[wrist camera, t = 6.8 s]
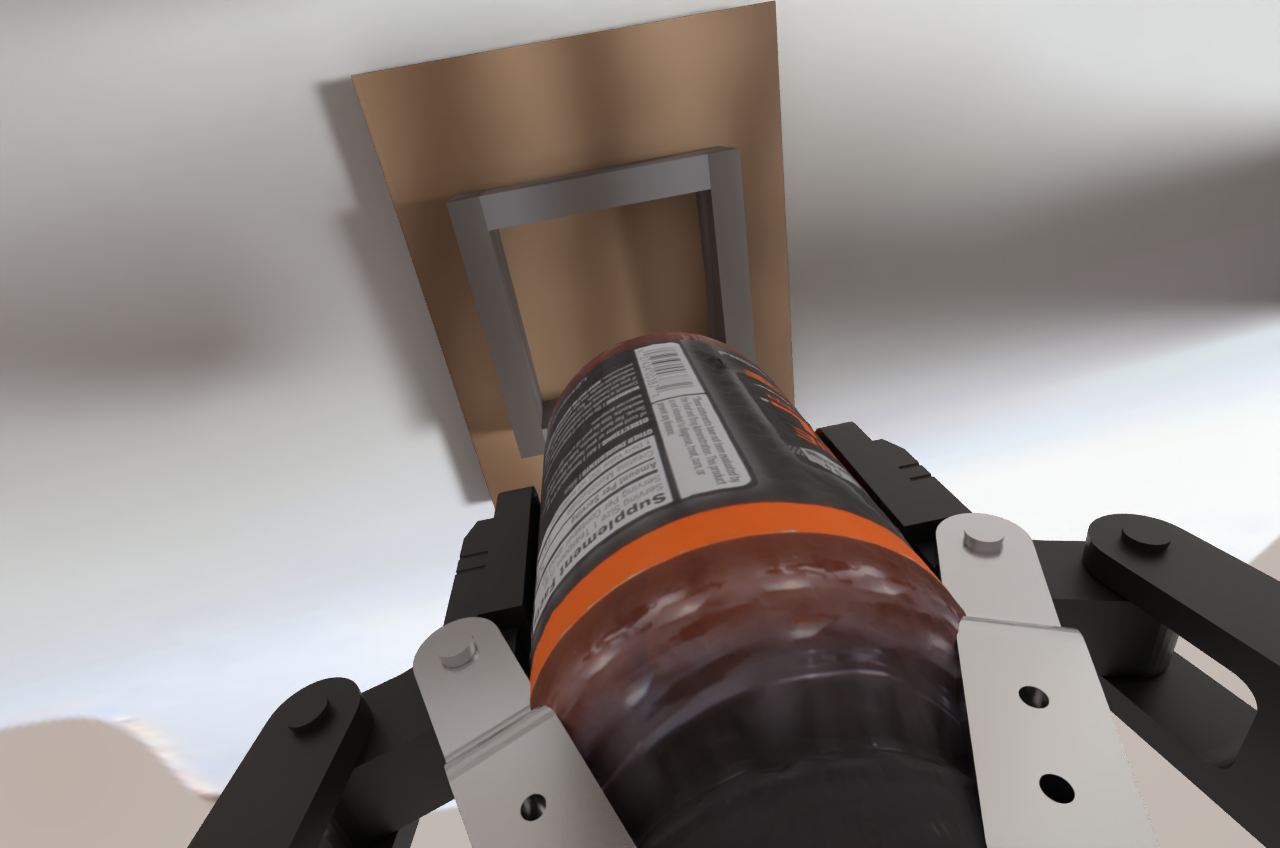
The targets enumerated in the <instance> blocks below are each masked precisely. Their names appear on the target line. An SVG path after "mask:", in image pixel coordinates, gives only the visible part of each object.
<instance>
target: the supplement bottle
mask: <svg viewBox="0 0 1280 848" xmlns="http://www.w3.org/2000/svg"><path fill="white" fill-rule="evenodd" d="M963 616H966V614H965V612H964V610H963V609H962V608H961V607H960V605H959V604H958V603H957V602H956V600H955V599H954V598H953V596H952V595H951V594H950V592H949V591H948V590H947V588H946V587H945V586H944V585H943V584H942V583H941V581H940V580H939V579H938V578H937V577H936V575H935V574H934V573H933V572H932V571H931V570H930V568H929V567H928V566H927V565H926V564H925V563H924V561H923V560H922V559H921V558H920V557H919V556H918V555H917V554H916V553H915V552H914V550H913V548H912V547H911V546H910V545H909V543H908V542H907V541H906V540H905V538H904V537H903V535H902V533H901V532H900V531H899V529H898V528H897V527H895V526H894V525H893V524H892V522H891V521H890V520H889V518H888V517H887V516H886V515H885V514H884V512H883V511H882V510H881V509H880V508H878V506H877V505H876V504H875V502H874V501H873V500H872V499H871V498H870V496H869V495H868V493H867V492H866V491H865V490H864V489H863V488H862V486H861V485H860V484H859V483H858V482H857V481H856V480H855V479H854V478H853V477H852V476H851V474H850V473H849V472H848V471H847V470H846V468H845V467H844V466H843V465H842V464H841V463H840V461H839V460H838V459H837V458H836V457H835V456H834V455H833V453H832V452H831V451H830V449H829V448H828V447H827V446H826V445H825V444H824V443H823V442H822V440H821V439H820V438H819V437H818V435H817V434H816V433H815V432H814V431H813V429H812V428H811V426H810V424H809V423H808V422H806V421H805V419H804V418H803V417H802V416H801V415H800V414H799V412H798V411H797V409H796V408H795V407H794V406H793V405H792V404H791V402H790V401H789V400H788V399H787V397H786V396H785V395H784V394H783V393H782V391H781V390H780V389H779V388H778V387H777V386H776V385H775V383H774V381H773V380H772V379H771V378H770V377H769V376H768V375H767V374H766V373H764V372H763V371H762V370H761V369H760V368H759V367H758V366H757V365H756V364H754V363H753V362H752V361H751V360H750V359H749V358H747V357H746V356H745V355H743V354H742V353H740V352H739V351H737V350H736V349H734V348H732V347H730V346H729V345H727V344H725V343H722V342H720V341H717V340H714V339H711V338H708V337H706V336H704V335H700V334H693V333H685V332H667V333H658V334H649V335H644V336H639V337H636V338H633V339H630V340H626V341H624V342H621V343H619V344H616V345H615V346H613V347H611V348H609V349H607V350H605V351H604V352H602V353H601V354H599V355H598V356H596V357H595V358H594V359H592V360H591V361H590V362H589V363H588V364H586V365H585V366H584V367H583V368H582V369H581V370H580V371H579V372H578V373H577V374H576V375H575V376H574V377H573V378H572V379H571V381H570V382H569V383H568V385H567V386H566V388H565V389H564V391H563V393H562V394H561V396H560V397H559V399H558V402H557V404H556V406H555V408H554V411H553V414H552V417H551V419H550V421H549V424H548V429H547V438H546V442H545V451H544V459H543V476H542V489H541V503H540V517H539V534H538V550H537V559H536V578H535V587H534V603H533V617H532V627H531V651H530V661H529V667H530V671H531V673H530V680H529V681H530V683H531V687H530V708H531V710H533V709H534V708H536V707H537V706H539V705H545V706H548V707H549V708H551V709H552V710H553V711H554V712H555V713H556V715H557V717H558V718H559V720H560V722H561V723H562V725H563V726H564V728H565V730H566V731H567V733H568V735H569V736H570V738H571V740H572V741H573V743H574V745H575V746H576V748H577V750H578V751H579V753H580V755H581V756H582V758H583V760H584V761H585V763H586V765H587V766H588V768H589V770H590V771H591V773H592V775H593V776H594V778H595V779H596V781H597V783H598V784H599V786H600V788H601V789H602V791H603V793H604V794H605V796H606V798H607V799H608V801H609V803H610V804H611V806H612V808H613V809H614V811H615V813H616V814H617V816H618V818H619V819H620V821H621V823H622V824H623V826H624V828H625V829H626V831H627V832H628V834H629V836H630V837H632V839H633V841H634V843H635V846H636V847H637V848H985V843H984V837H983V832H982V827H981V823H980V819H979V816H978V812H977V806H976V801H975V796H974V788H973V783H972V780H971V778H969V777H968V776H966V775H964V774H963V773H961V772H959V770H958V769H957V766H956V761H955V760H956V759H957V758H958V756H960V755H963V754H964V749H963V741H962V733H961V726H960V718H959V712H958V707H957V703H956V678H957V634H958V632H959V623H960V621H961V619H962V618H963Z"/></svg>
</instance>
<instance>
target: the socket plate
mask: <svg viewBox="0 0 1280 848" xmlns="http://www.w3.org/2000/svg"><path fill="white" fill-rule="evenodd" d="M351 77H352V80H353V83H354V86H355V89H356V92H357V95H358V98H359V101H360V104H361V107H362V110H363V113H364V116H365V119H366V122H367V125H368V128H369V131H370V134H371V137H372V140H373V143H374V146H375V149H376V152H377V155H378V158H379V161H380V164H381V167H382V170H383V173H384V177H385V180H386V183H387V186H388V189H389V192H390V195H391V198H392V201H393V204H394V207H395V210H396V213H397V216H398V219H399V222H400V225H401V228H402V231H403V234H404V237H405V240H406V243H407V246H408V249H409V252H410V255H411V258H412V261H413V264H414V267H415V270H416V273H417V276H418V279H419V282H420V285H421V288H422V291H423V294H424V297H425V300H426V303H427V306H428V309H429V312H430V315H431V318H432V321H433V324H434V327H435V330H436V333H437V336H438V339H439V342H440V345H441V348H442V351H443V354H444V357H445V360H446V363H447V366H448V369H449V372H450V375H451V378H452V381H453V384H454V387H455V390H456V393H457V396H458V399H459V402H460V405H461V408H462V411H463V414H464V417H465V420H466V423H467V426H468V429H469V432H470V435H471V438H472V441H473V444H474V447H475V450H476V453H477V456H478V459H479V462H480V465H481V468H482V471H483V474H484V477H485V480H486V483H487V486H488V489H489V492H490V495H491V498H492V501H493V504H494V507H495V509H496V503H497V497H498V494H499V493H501V492H506V491H511V490H515V489H520V488H525V487H530V486H534V487H535V488H536V491H537V493H538V496H539V500H540V503H541V489H542V476H543V459H544V451H545V442H546V438H547V429H548V424H549V421H550V419H551V417H552V414H553V411H554V408H555V406H556V404H557V402H558V399H559V397H560V396H561V394H562V393H563V391H564V389H565V388H566V386H567V385H568V383H569V382H570V381H571V379H572V378H573V377H574V376H575V375H576V374H577V373H578V372H579V371H580V370H581V369H582V368H583V367H584V366H585V365H586V364H588V363H589V362H590V361H591V360H592V359H594V358H595V357H596V356H598V355H599V354H601V353H602V352H604V351H605V350H607V349H609V348H611V347H613V346H615V345H616V344H619V343H621V342H624V341H626V340H630V339H633V338H636V337H639V336H644V335H649V334H658V333H667V332H685V333H693V334H700V335H704V336H706V337H708V338H711V339H714V340H717V341H720V342H722V343H725V344H727V345H729V346H730V347H732V348H734V349H736V350H737V351H739V352H740V353H742V354H743V355H745V356H746V357H747V358H749V359H750V360H751V361H752V362H753V363H754V364H756V365H757V366H758V367H759V368H760V369H761V370H762V371H763V372H764V373H766V374H767V375H768V376H769V377H770V378H771V379H772V380H773V381H774V383H775V385H776V386H777V387H778V388H779V389H780V390H781V391H782V393H783V394H784V395H785V396H786V397H787V399H788V400H789V401H790V402H791V404H792V405H793V406H794V407H795V405H794V384H793V363H792V342H791V321H790V300H789V279H788V258H787V237H786V215H785V194H784V173H783V152H782V131H781V110H780V89H779V68H778V47H777V25H776V4H775V1H770V2H764V3H758V4H753V5H747V6H741V7H736V8H730V9H724V10H719V11H713V12H707V13H702V14H696V15H690V16H685V17H679V18H673V19H668V20H662V21H656V22H651V23H645V24H640V25H634V26H628V27H623V28H617V29H611V30H606V31H600V32H594V33H589V34H583V35H577V36H572V37H566V38H560V39H555V40H549V41H543V42H538V43H532V44H526V45H521V46H515V47H510V48H504V49H498V50H493V51H487V52H481V53H476V54H470V55H464V56H459V57H453V58H447V59H442V60H436V61H430V62H425V63H419V64H413V65H408V66H402V67H396V68H391V69H385V70H379V71H374V72H368V73H363V74H357V75H351Z"/></svg>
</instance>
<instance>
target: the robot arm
mask: <svg viewBox="0 0 1280 848" xmlns="http://www.w3.org/2000/svg"><path fill="white" fill-rule="evenodd" d="M815 433H816V434H817V435H818V437H819V438H820V439H821V440H822V442H823V443H824V444H825V445H826V446H827V447H828V448H829V449H830V451H831V452H832V453H833V455H834V456H835V457H836V458H837V459H838V460H839V461H840V463H841V464H842V465H843V466H844V467H845V468H846V470H847V471H848V472H849V473H850V474H851V476H852V477H853V478H854V479H855V480H856V481H857V482H858V483H859V484H860V485H861V486H862V488H863V489H864V490H865V491H866V492H867V493H868V495H869V496H870V498H871V499H872V500H873V501H874V502H875V504H876V505H877V506H878V508H880V509H881V510H882V511H883V512H884V514H885V515H886V516H887V517H888V518H889V520H890V521H891V522H892V524H893V525H894V526H895V527H897V528H898V529H899V531H900V532H901V533H902V535H903V537H904V538H905V540H906V541H907V542H908V543H909V545H910V546H911V547H912V548H913V550H914V552H915V553H916V554H917V555H918V556H919V557H920V558H921V559H922V560H923V561H924V563H925V564H926V565H927V566H928V567H929V568H930V570H931V571H932V572H933V573H934V574H935V575H936V577H937V578H938V579H939V580H940V581H941V583H942V584H943V585H944V586H945V587H946V588H947V590H948V591H949V592H950V594H951V595H952V596H953V598H954V599H955V600H956V602H957V603H958V604H959V605H960V607H961V608H962V609H963V610H964V612H965V614H966V616H963V618H962V619H961V621H960V623H959V632H958V634H957V678H956V703H957V707H958V712H959V718H960V726H961V733H962V741H963V749H964V754H963V755H960V756H958V758H957V759H956V760H955V761H956V766H957V769H958V770H959V772H961V773H963V774H964V775H966V776H968V777H969V778H971V780H972V783H973V788H974V796H975V801H976V806H977V812H978V816H979V819H980V823H981V827H982V832H983V837H984V843H985V848H1160V846H1159V843H1158V840H1157V838H1156V835H1155V832H1154V829H1153V826H1152V824H1151V821H1150V818H1149V816H1148V813H1147V810H1146V807H1145V805H1144V802H1143V799H1142V796H1141V794H1140V791H1139V788H1138V786H1137V783H1136V780H1135V777H1134V774H1133V772H1132V769H1131V766H1130V764H1129V761H1128V758H1127V755H1126V752H1125V750H1124V747H1123V744H1122V742H1121V739H1120V736H1119V734H1118V731H1117V728H1116V725H1115V722H1114V720H1113V717H1112V714H1111V711H1112V712H1113V713H1114V714H1115V715H1116V716H1118V718H1120V719H1121V720H1122V721H1123V722H1124V723H1125V724H1126V725H1127V726H1129V727H1130V728H1131V729H1132V730H1133V731H1134V732H1136V733H1137V734H1138V735H1139V736H1140V737H1141V738H1142V739H1143V740H1145V741H1146V742H1147V743H1148V744H1149V745H1150V746H1151V747H1152V748H1154V749H1155V750H1156V751H1157V752H1158V753H1159V754H1161V755H1162V756H1163V757H1164V758H1165V759H1166V760H1168V762H1170V763H1171V764H1172V765H1173V766H1174V767H1175V768H1176V769H1178V770H1179V771H1180V772H1181V773H1182V774H1183V775H1184V776H1186V777H1187V778H1188V779H1189V780H1190V781H1191V782H1192V783H1193V784H1195V785H1196V786H1197V787H1198V788H1199V789H1200V790H1202V791H1203V792H1204V793H1205V794H1206V795H1207V796H1208V797H1209V798H1210V799H1212V800H1213V801H1214V802H1215V803H1216V804H1217V805H1219V806H1220V807H1221V808H1222V809H1223V810H1224V811H1225V812H1226V813H1228V814H1229V815H1230V816H1231V817H1232V818H1233V819H1234V820H1236V821H1237V822H1238V823H1239V824H1240V825H1241V826H1242V827H1243V828H1245V829H1246V830H1247V831H1248V832H1249V833H1250V834H1251V835H1252V836H1254V837H1255V838H1256V839H1257V840H1258V841H1259V842H1260V843H1262V844H1263V845H1264V846H1265V847H1266V848H1280V581H1277V580H1276V579H1274V578H1272V577H1270V576H1269V575H1266V574H1265V573H1263V572H1261V571H1259V570H1257V569H1255V568H1254V567H1252V566H1250V565H1248V564H1246V563H1244V562H1242V561H1241V560H1239V559H1237V558H1235V557H1233V556H1231V555H1229V554H1228V553H1226V552H1224V551H1222V550H1220V549H1218V548H1216V547H1215V546H1213V545H1211V544H1209V543H1207V542H1205V541H1203V540H1202V539H1200V538H1198V537H1196V536H1194V535H1192V534H1190V533H1189V532H1187V531H1185V530H1183V529H1181V528H1179V527H1177V526H1175V525H1173V524H1170V523H1168V522H1165V521H1162V520H1159V519H1156V518H1152V517H1147V516H1142V515H1135V514H1113V515H1107V516H1103V517H1100V518H1098V519H1096V520H1095V521H1093V522H1092V523H1091V524H1090V526H1089V529H1088V533H1087V538H1086V541H1042V540H1032V539H1031V537H1030V536H1029V535H1028V534H1027V533H1026V532H1025V531H1024V530H1023V529H1022V528H1021V527H1019V526H1018V525H1016V524H1014V523H1012V522H1010V521H1008V520H1006V519H1003V518H1000V517H997V516H993V515H988V514H981V513H972V512H971V511H970V510H969V509H968V508H966V507H965V506H964V505H963V504H962V503H961V502H960V501H959V500H958V499H957V498H956V497H955V496H954V495H953V494H952V493H951V492H949V491H948V490H947V489H946V488H945V487H944V486H943V485H942V484H941V483H940V482H939V481H938V480H937V479H936V478H935V477H931V474H930V473H929V472H928V471H927V470H926V469H925V468H924V467H923V466H922V465H919V462H918V461H917V460H916V459H914V458H913V457H912V456H911V455H910V454H909V453H908V452H907V451H906V450H905V449H903V448H901V447H899V446H897V445H894V444H892V443H890V442H888V441H885V440H883V439H880V440H875V441H872V440H871V439H870V438H869V437H868V436H867V435H866V434H865V433H864V432H863V431H862V430H861V429H860V428H859V427H858V426H857V425H856V424H855V423H853V422H847V423H842V424H837V425H832V426H827V427H822V428H818V429H816V431H815ZM539 517H540V500H539V496H538V493H537V491H536V488H535V487H534V486H530V487H525V488H520V489H515V490H511V491H506V492H501V493H499V494H498V497H497V503H496V509H495V514H494V518H491V519H486V520H481V521H477V523H476V524H475V525H474V527H473V528H472V529H471V530H470V532H469V533H468V534H467V536H466V537H465V538H464V541H463V545H462V549H461V553H460V560H459V562H458V566H457V570H456V572H457V575H455V579H454V583H453V587H452V591H451V595H450V600H449V604H448V608H447V612H446V617H445V621H444V625H443V627H441V628H439V629H438V630H436V631H435V632H434V633H432V634H431V635H430V636H429V637H428V638H427V639H426V640H425V641H424V642H423V644H422V645H421V646H420V648H419V649H418V651H417V653H416V655H415V658H414V662H413V667H412V668H411V669H409V670H408V671H406V672H404V673H403V674H401V675H399V676H397V677H395V678H393V679H390V680H388V681H386V682H384V683H382V684H380V685H378V686H376V687H373V688H371V689H369V690H367V691H365V692H363V693H361V691H360V690H359V688H358V686H357V685H356V683H354V682H353V681H352V680H349V679H347V678H341V677H335V678H328V679H324V680H321V681H317V682H315V683H313V684H310V685H308V686H306V687H305V688H303V689H301V690H300V691H298V692H296V693H295V694H293V695H292V696H291V697H290V698H288V699H287V700H286V701H285V702H284V703H283V704H282V705H280V706H279V707H278V709H277V710H276V711H275V712H274V713H273V714H272V716H271V717H270V718H269V720H268V721H267V723H266V724H265V726H264V728H263V729H262V731H261V732H260V734H259V735H258V737H257V739H256V740H255V742H254V743H253V745H252V746H251V748H250V750H249V751H248V753H247V754H246V756H245V758H244V759H243V761H242V762H241V764H240V765H239V767H238V769H237V770H236V772H235V773H234V775H233V776H232V778H231V780H230V781H229V783H228V784H227V786H226V787H225V789H224V791H223V792H222V794H221V795H220V797H219V799H218V800H217V802H216V803H215V805H214V806H213V808H212V810H211V811H210V813H209V814H208V816H207V818H206V819H205V821H204V822H203V824H202V826H201V827H200V828H199V830H198V832H197V833H196V835H195V837H194V838H193V839H192V841H191V843H190V844H189V846H188V847H187V848H410V846H411V843H412V840H413V837H414V834H415V831H416V828H417V825H418V822H419V818H420V817H422V816H424V815H426V814H428V813H430V812H431V811H433V810H435V809H437V808H439V807H440V806H442V805H444V804H446V803H448V802H449V801H451V800H453V799H455V800H456V803H457V806H458V809H459V812H460V814H461V817H462V820H463V823H464V826H465V829H466V831H467V834H468V837H469V840H470V843H471V845H472V848H637V847H636V846H635V843H634V841H633V839H632V837H630V836H629V834H628V832H627V831H626V829H625V828H624V826H623V824H622V823H621V821H620V819H619V818H618V816H617V814H616V813H615V811H614V809H613V808H612V806H611V804H610V803H609V801H608V799H607V798H606V796H605V794H604V793H603V791H602V789H601V788H600V786H599V784H598V783H597V781H596V779H595V778H594V776H593V775H592V773H591V771H590V770H589V768H588V766H587V765H586V763H585V761H584V760H583V758H582V756H581V755H580V753H579V751H578V750H577V748H576V746H575V745H574V743H573V741H572V740H571V738H570V736H569V735H568V733H567V731H566V730H565V728H564V726H563V725H562V723H561V722H560V720H559V718H558V717H557V715H556V713H555V712H554V711H553V710H552V709H551V708H549V707H548V706H545V705H539V706H537V707H536V708H534V709H533V710H531V708H530V687H531V683H530V681H529V680H530V673H531V671H530V667H529V661H530V651H531V627H532V617H533V603H534V587H535V578H536V559H537V550H538V534H539ZM1178 636H1181V637H1182V638H1184V639H1185V640H1187V641H1188V642H1190V643H1191V644H1192V645H1194V646H1195V647H1197V648H1198V649H1200V650H1201V651H1203V652H1204V653H1206V654H1207V655H1208V656H1210V657H1211V658H1213V659H1214V660H1216V661H1217V662H1219V663H1220V664H1222V665H1223V666H1225V667H1226V668H1227V669H1229V670H1230V671H1232V672H1233V673H1234V674H1236V675H1237V676H1238V677H1239V678H1240V679H1241V680H1243V682H1244V683H1245V684H1246V685H1247V686H1248V687H1249V689H1250V690H1251V692H1252V693H1253V695H1254V697H1255V700H1256V703H1257V710H1255V709H1254V708H1253V707H1251V706H1250V705H1248V704H1247V703H1246V702H1244V701H1243V700H1241V699H1240V698H1238V697H1237V696H1236V695H1234V694H1233V693H1232V692H1230V691H1229V690H1227V689H1226V688H1225V687H1223V686H1222V685H1220V684H1219V683H1217V682H1216V681H1215V680H1213V679H1212V678H1211V677H1209V676H1208V675H1206V674H1205V673H1204V672H1202V671H1201V670H1200V669H1198V668H1197V667H1195V666H1194V665H1192V664H1191V663H1190V662H1188V661H1187V660H1186V659H1184V658H1183V657H1181V656H1180V655H1179V654H1177V653H1176V652H1174V648H1175V645H1176V642H1177V639H1178Z"/></svg>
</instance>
